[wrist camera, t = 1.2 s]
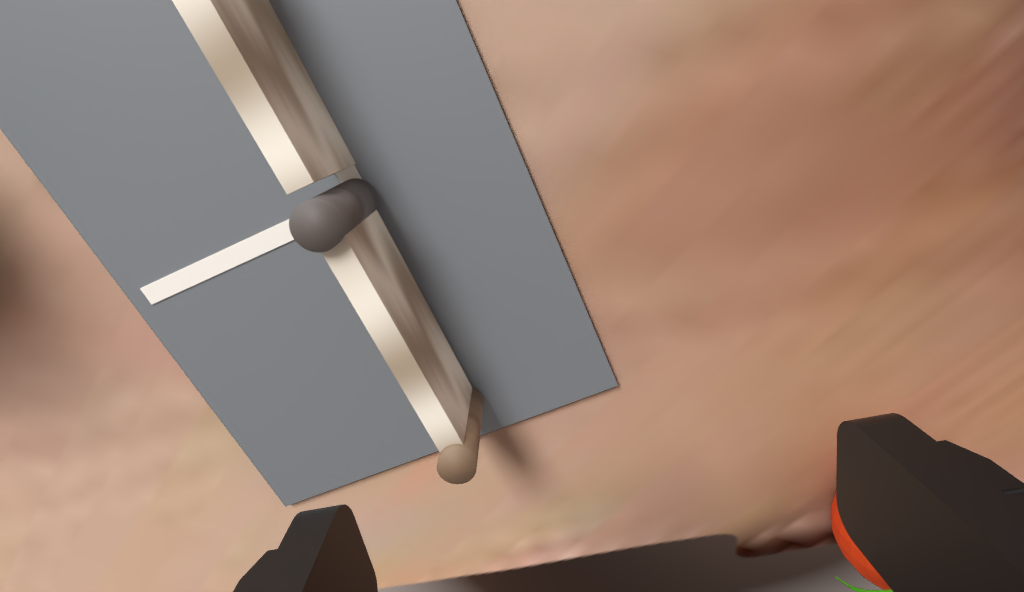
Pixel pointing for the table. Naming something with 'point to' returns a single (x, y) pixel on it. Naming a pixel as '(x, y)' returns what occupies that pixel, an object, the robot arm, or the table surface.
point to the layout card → (267, 208)
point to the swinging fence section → (395, 318)
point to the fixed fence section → (268, 88)
